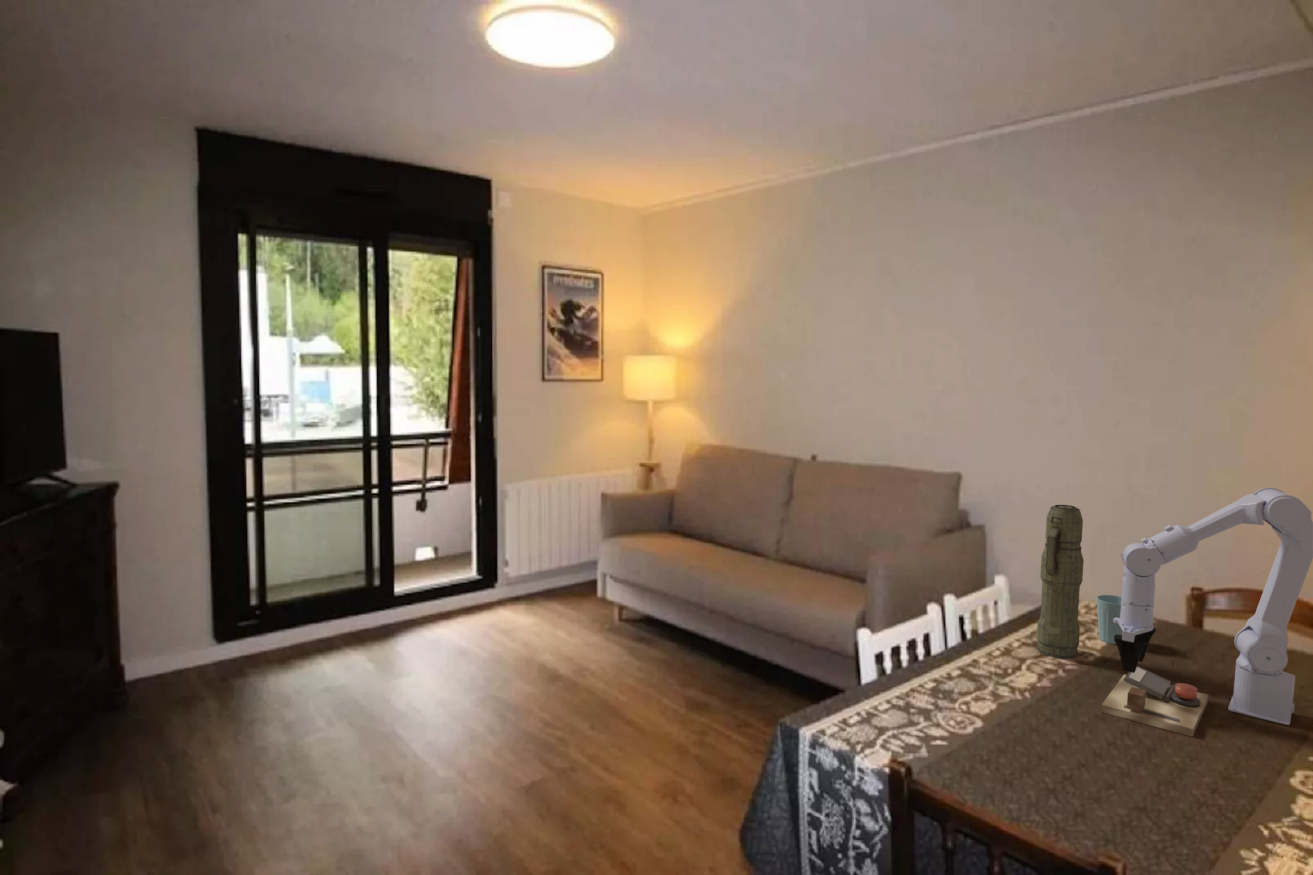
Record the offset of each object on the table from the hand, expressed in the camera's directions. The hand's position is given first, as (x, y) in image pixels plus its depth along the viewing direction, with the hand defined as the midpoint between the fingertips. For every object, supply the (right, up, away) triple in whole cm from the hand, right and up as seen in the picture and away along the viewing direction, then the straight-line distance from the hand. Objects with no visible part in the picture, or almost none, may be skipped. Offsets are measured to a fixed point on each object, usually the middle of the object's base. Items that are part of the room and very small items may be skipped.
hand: (1132, 665), depth 161 cm
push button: (+6, -4, -7) cm, 10 cm away
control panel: (+1, -7, -6) cm, 9 cm away
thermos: (-4, -4, +23) cm, 24 cm away
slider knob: (-6, -6, -10) cm, 13 cm away
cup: (+13, -3, +30) cm, 33 cm away
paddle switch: (+2, -3, -1) cm, 4 cm away
